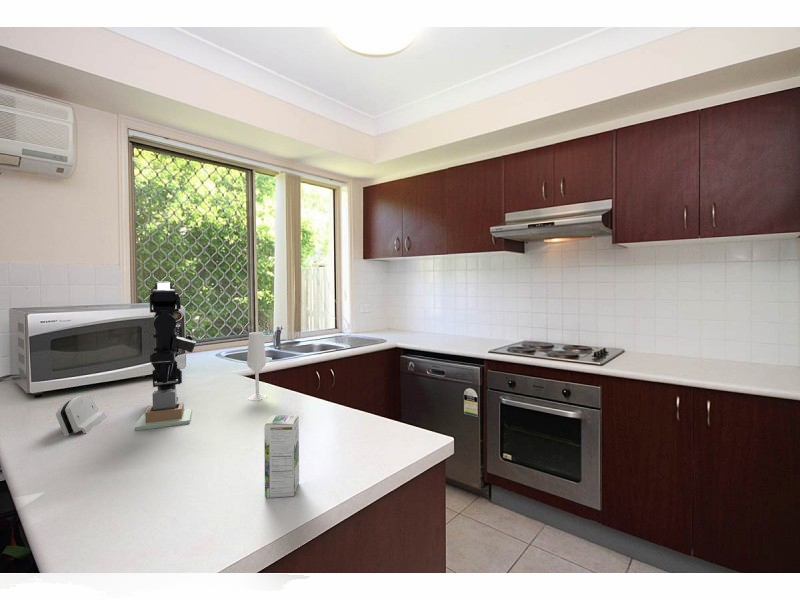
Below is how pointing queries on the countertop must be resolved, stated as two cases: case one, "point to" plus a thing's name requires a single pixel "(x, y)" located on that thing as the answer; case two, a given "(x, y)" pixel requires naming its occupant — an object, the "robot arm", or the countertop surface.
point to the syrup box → (281, 456)
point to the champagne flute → (256, 359)
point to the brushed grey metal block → (164, 399)
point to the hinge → (79, 415)
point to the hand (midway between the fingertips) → (166, 379)
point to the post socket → (164, 417)
